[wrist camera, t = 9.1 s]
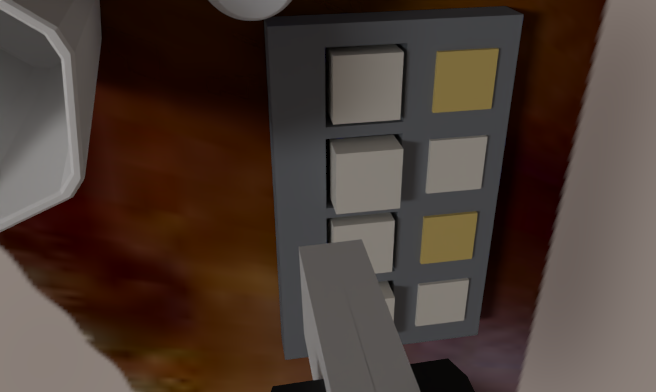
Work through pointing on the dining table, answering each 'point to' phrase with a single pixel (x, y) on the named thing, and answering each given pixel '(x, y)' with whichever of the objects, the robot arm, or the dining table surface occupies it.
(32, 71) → the cup
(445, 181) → the board
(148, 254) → the dining table surface
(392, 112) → the button
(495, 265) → the dining table surface
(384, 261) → the button
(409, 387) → the robot arm
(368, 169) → the button
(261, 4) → the pill bottle
